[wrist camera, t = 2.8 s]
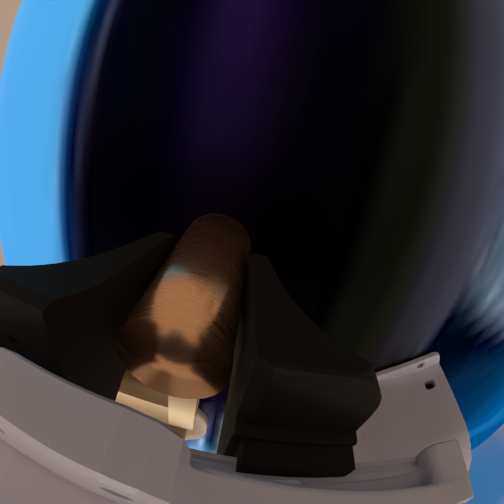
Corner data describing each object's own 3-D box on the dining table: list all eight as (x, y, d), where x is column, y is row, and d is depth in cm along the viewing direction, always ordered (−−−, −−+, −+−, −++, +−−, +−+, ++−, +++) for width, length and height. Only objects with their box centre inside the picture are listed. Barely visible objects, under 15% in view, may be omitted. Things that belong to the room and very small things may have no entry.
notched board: (81, 262, 14) (56, 286, 12) (217, 300, 14) (207, 334, 12) (100, 371, 18) (88, 395, 16) (198, 402, 19) (192, 430, 16)
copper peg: (236, 203, 12) (194, 307, 6) (260, 263, 13) (248, 393, 7) (174, 225, 12) (95, 329, 6) (201, 280, 14) (155, 401, 7)
